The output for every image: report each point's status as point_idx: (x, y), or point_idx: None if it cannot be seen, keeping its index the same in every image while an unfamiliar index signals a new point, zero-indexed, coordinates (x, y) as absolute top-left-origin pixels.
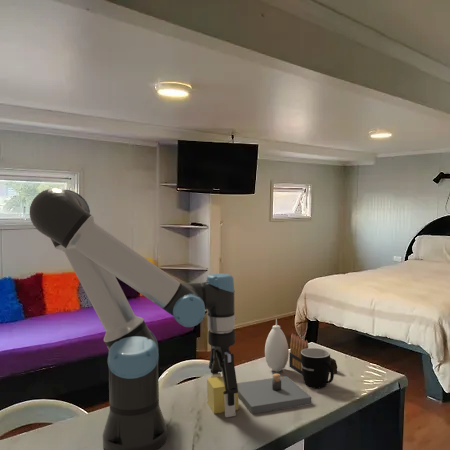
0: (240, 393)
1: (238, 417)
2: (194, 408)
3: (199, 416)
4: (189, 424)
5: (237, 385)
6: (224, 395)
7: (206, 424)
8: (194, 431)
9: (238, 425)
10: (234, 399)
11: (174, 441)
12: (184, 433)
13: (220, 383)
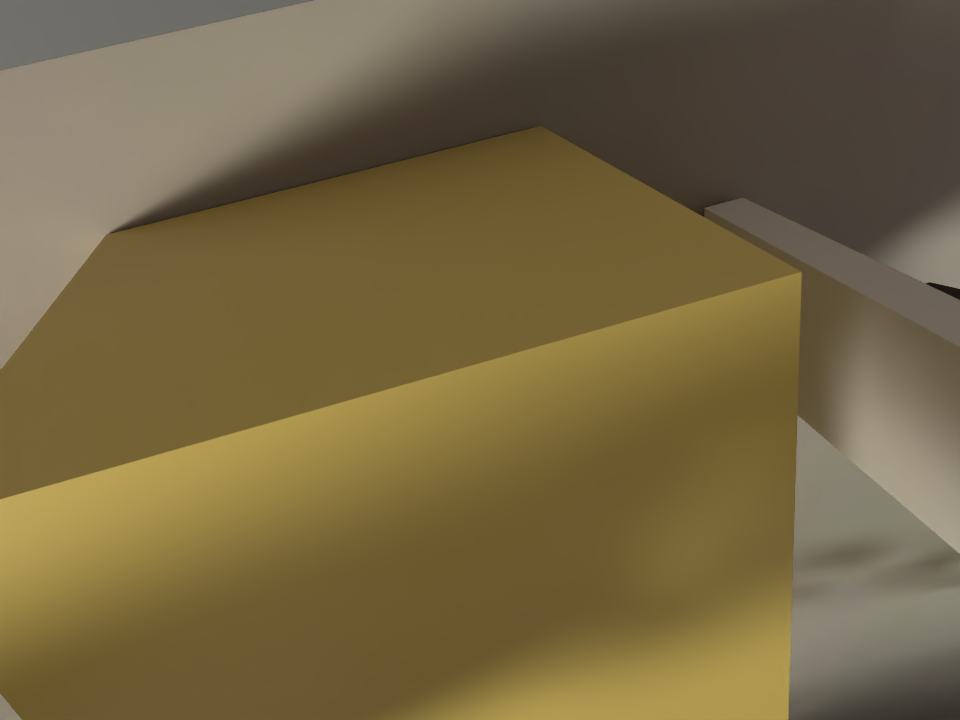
0: (109, 45)
1: (769, 150)
2: None
3: None
4: None
5: (788, 283)
6: (928, 523)
7: (798, 513)
8: (876, 591)
9: (957, 171)
10: (933, 299)
11: (948, 687)
12: (873, 652)
13: (588, 710)
